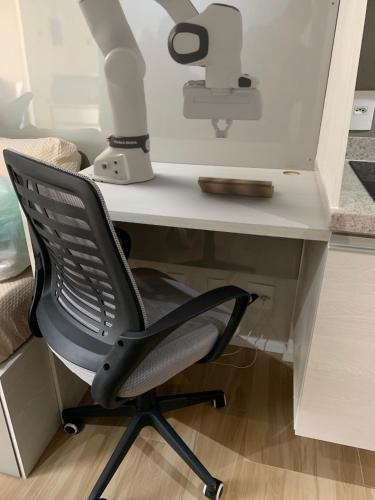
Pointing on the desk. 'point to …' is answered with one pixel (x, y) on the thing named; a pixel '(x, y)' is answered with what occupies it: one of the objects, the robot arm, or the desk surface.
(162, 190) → the desk surface
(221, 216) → the desk surface
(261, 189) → the plank
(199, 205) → the desk surface
